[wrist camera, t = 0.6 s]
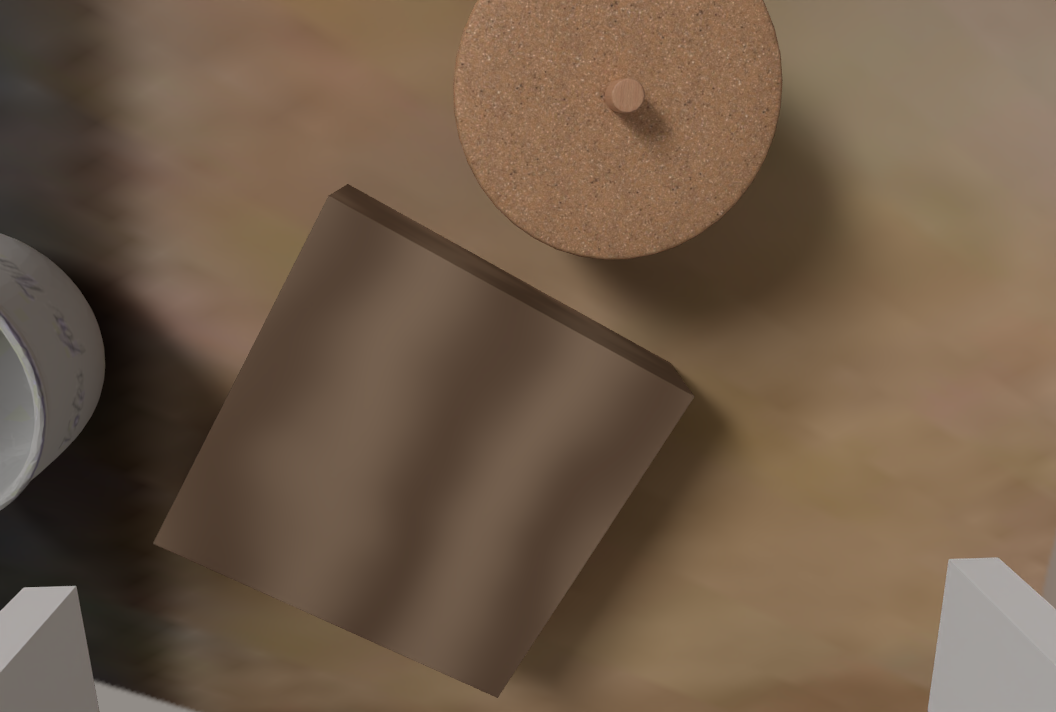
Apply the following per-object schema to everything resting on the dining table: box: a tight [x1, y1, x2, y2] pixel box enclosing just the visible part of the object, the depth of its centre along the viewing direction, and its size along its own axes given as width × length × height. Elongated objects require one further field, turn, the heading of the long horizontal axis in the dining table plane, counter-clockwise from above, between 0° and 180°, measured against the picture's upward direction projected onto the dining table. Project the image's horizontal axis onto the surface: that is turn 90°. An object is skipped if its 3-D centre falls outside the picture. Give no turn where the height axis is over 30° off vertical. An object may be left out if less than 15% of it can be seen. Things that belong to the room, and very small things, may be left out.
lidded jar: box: [453, 0, 782, 260], centre depth 30 cm, size 11×11×9 cm
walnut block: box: [153, 184, 694, 698], centre depth 37 cm, size 16×16×5 cm
